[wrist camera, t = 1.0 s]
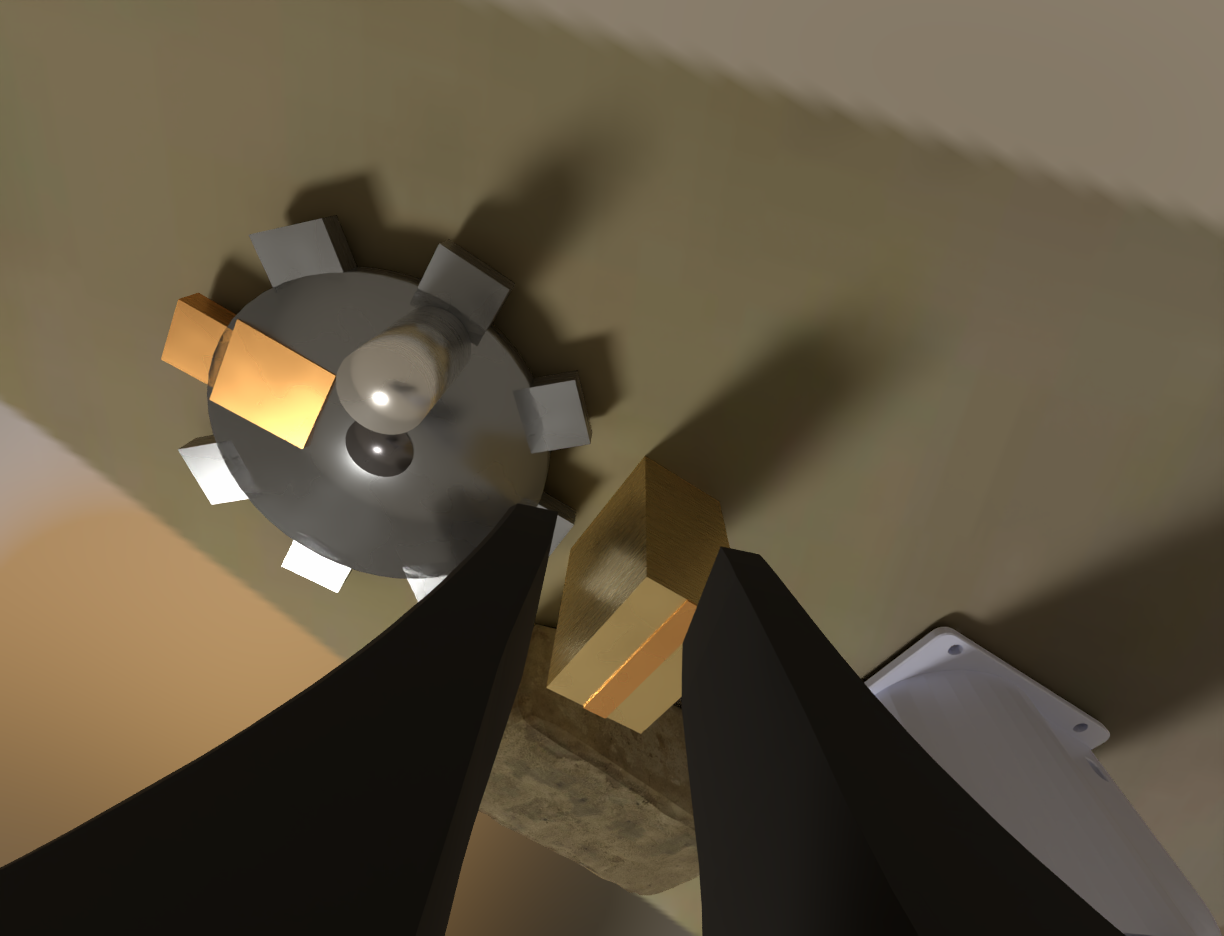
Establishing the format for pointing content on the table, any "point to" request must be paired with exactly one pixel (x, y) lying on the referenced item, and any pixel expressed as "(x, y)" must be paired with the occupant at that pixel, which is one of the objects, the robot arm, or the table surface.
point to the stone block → (594, 784)
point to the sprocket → (372, 408)
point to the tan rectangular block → (635, 597)
